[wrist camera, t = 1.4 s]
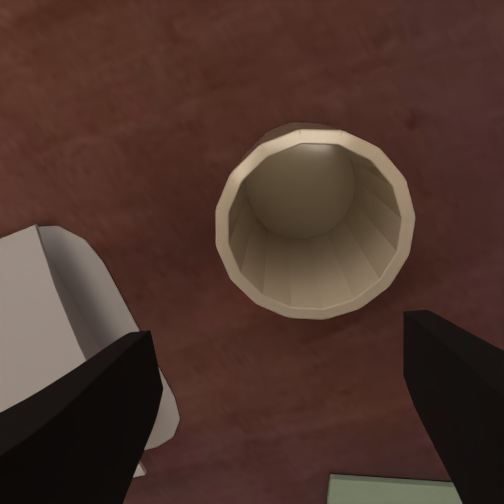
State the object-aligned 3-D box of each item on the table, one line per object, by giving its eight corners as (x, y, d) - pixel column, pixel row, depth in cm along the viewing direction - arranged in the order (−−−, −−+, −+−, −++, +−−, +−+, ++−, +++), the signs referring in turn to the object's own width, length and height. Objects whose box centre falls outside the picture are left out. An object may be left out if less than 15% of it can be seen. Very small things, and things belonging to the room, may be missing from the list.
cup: (367, 123, 18) (429, 132, 11) (353, 244, 20) (399, 324, 13) (240, 120, 19) (214, 126, 11) (238, 240, 20) (215, 315, 13)
